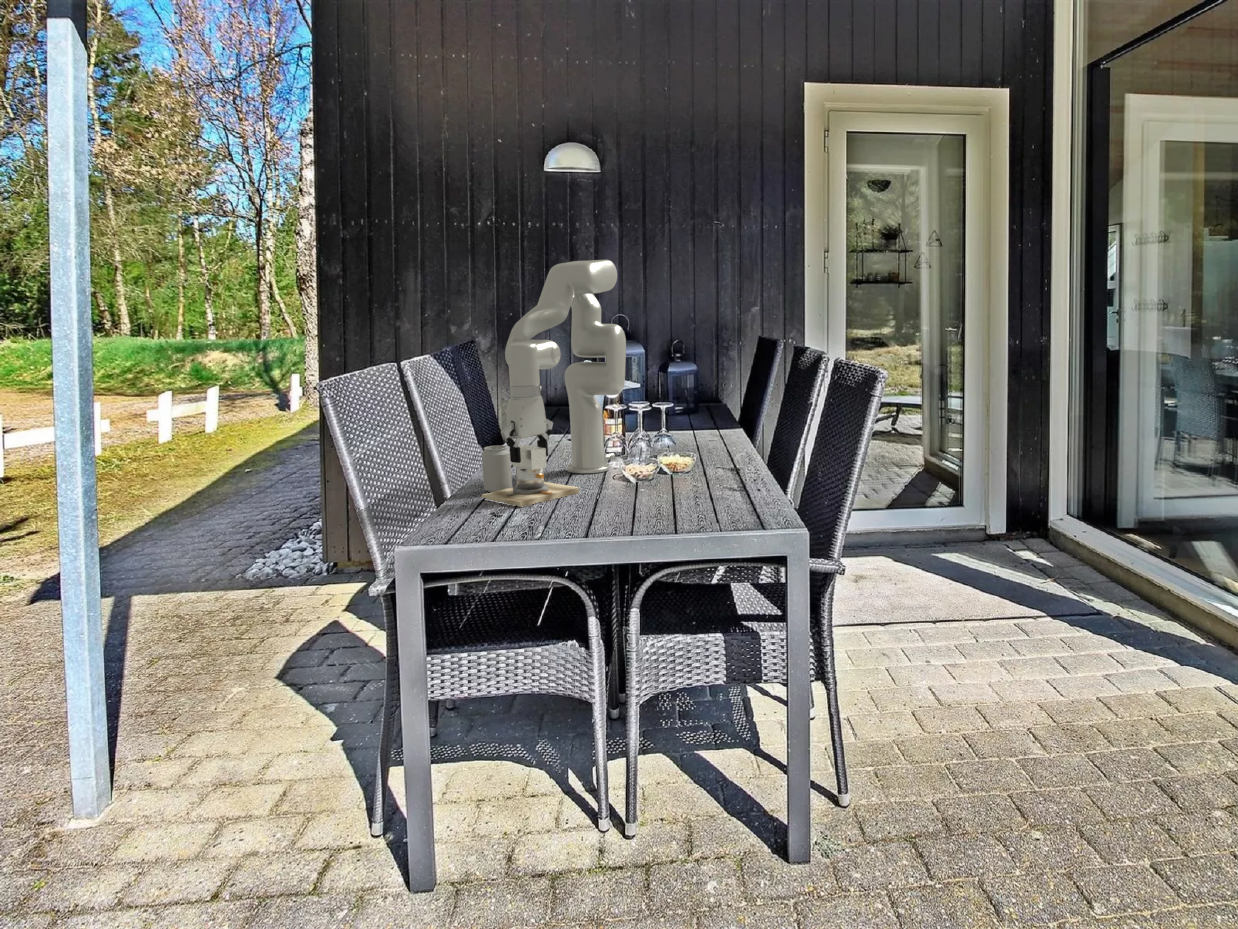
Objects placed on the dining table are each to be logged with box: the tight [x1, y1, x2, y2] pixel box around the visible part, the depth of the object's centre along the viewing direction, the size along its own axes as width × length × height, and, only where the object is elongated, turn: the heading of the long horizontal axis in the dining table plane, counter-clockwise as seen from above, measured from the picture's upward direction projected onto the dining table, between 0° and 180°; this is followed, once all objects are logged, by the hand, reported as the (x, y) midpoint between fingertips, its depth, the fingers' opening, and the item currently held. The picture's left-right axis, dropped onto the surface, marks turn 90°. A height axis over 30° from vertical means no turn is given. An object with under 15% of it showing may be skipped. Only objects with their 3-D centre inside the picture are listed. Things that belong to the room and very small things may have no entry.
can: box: [481, 445, 513, 493], centre depth 231 cm, size 8×8×12 cm
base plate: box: [481, 481, 580, 508], centre depth 224 cm, size 20×15×2 cm
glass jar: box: [511, 444, 547, 489], centre depth 222 cm, size 10×7×10 cm
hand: (529, 459), depth 222 cm, fingers open, 9 cm apart
